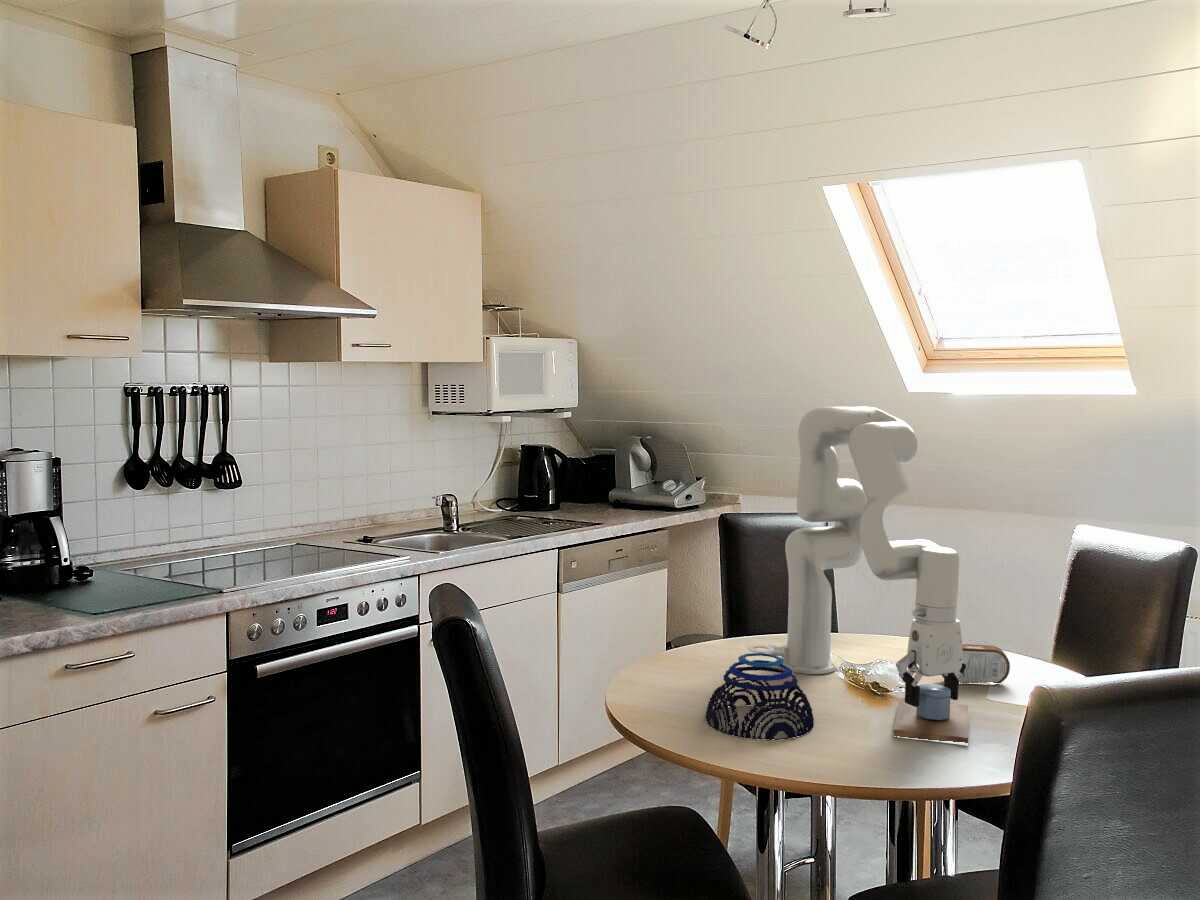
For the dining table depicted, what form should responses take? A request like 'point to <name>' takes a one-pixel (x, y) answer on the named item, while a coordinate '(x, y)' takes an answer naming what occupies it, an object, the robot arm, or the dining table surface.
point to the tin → (984, 664)
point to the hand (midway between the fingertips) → (931, 701)
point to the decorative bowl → (777, 726)
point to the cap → (934, 702)
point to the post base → (932, 724)
